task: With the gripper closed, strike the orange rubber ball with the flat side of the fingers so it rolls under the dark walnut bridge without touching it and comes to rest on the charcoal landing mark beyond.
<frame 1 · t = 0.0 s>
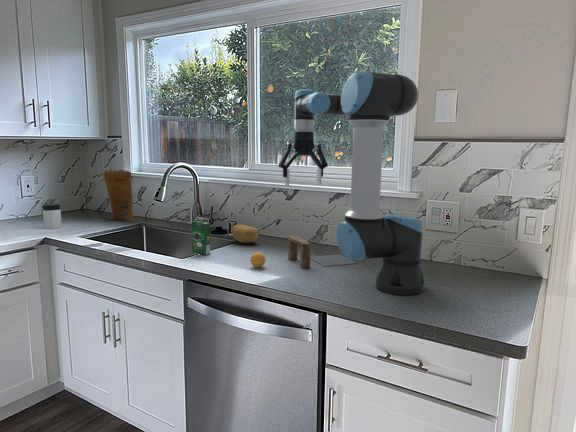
hand: (303, 185, 178), 28 cm above the worktop, tool pointing down, fingers open, 13 cm apart
pancake mix bag: (121, 220, 251), on the worktop
landing mark: (332, 260, 173), on the worktop
ball: (257, 259, 162), on the worktop
potato: (245, 243, 200), on the worktop
jar: (52, 227, 229), on the worktop
bridge: (298, 263, 168), on the worktop
coffee box: (201, 254, 181), on the worktop
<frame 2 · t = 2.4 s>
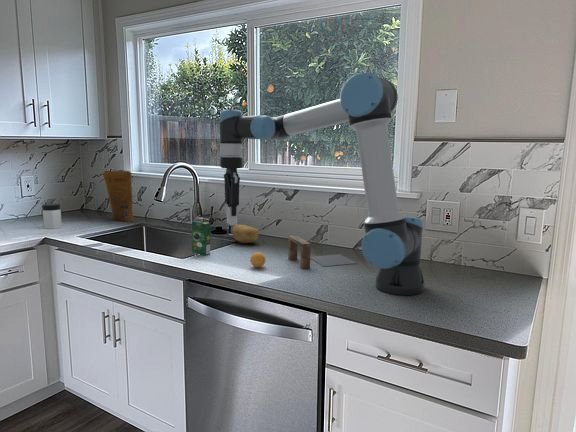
hand: (231, 223, 156), 17 cm above the worktop, tool pointing down, fingers open, 3 cm apart
nothing on the worktop moved.
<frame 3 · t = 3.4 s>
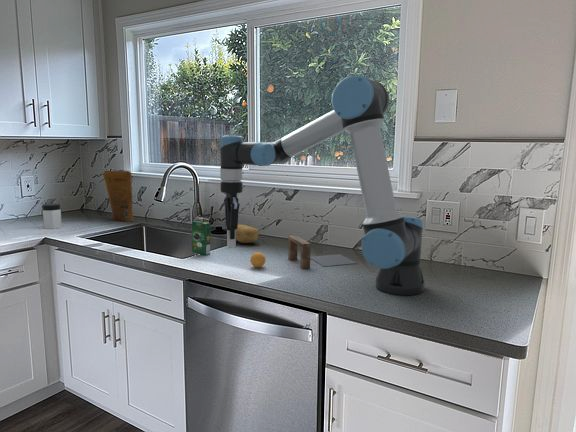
hand: (231, 247, 158), 8 cm above the worktop, tool pointing down, fingers closed
nothing on the worktop moved.
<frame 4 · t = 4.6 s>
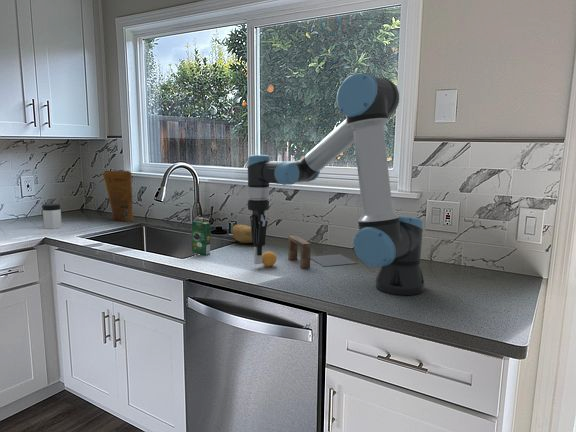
hand: (258, 263, 162), 2 cm above the worktop, tool pointing down, fingers closed
ball: (268, 258, 163), on the worktop, touching gripper
everything else where it was.
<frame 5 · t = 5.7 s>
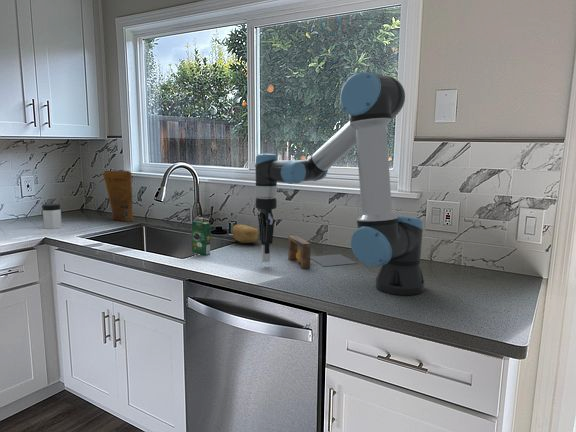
hand: (265, 261, 163), 2 cm above the worktop, tool pointing down, fingers closed
ball: (303, 255, 168), on the worktop
everything else where it was.
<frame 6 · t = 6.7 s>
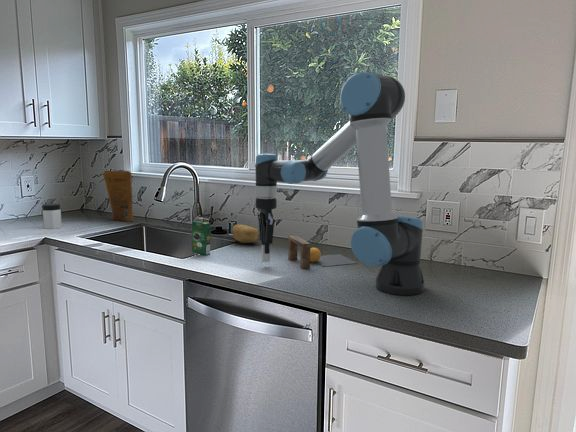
hand: (265, 261, 163), 2 cm above the worktop, tool pointing down, fingers closed
ball: (313, 254, 170), on the worktop
everything else where it was.
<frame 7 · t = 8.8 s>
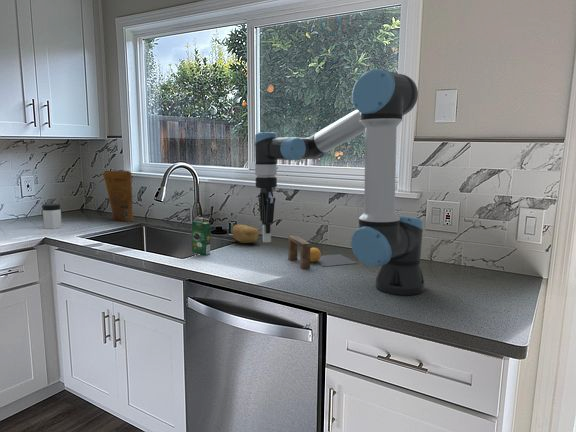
hand: (266, 241, 161), 9 cm above the worktop, tool pointing down, fingers closed
nothing on the worktop moved.
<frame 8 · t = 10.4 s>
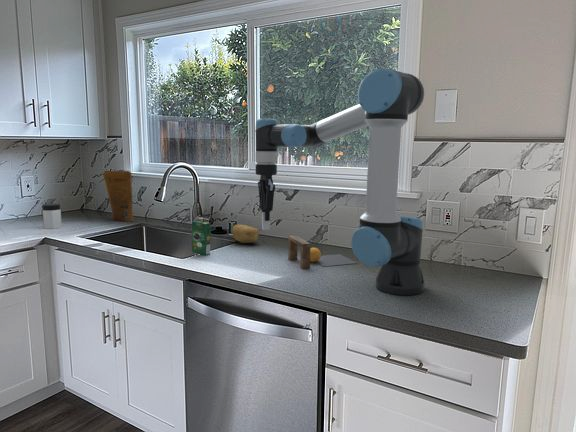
hand: (265, 229, 161), 14 cm above the worktop, tool pointing down, fingers closed
nothing on the worktop moved.
at the end: ball 7.7 cm from the landing mark (horizontally); ball never touched bridge; ball at rest at the end (0.0 cm/s) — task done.
